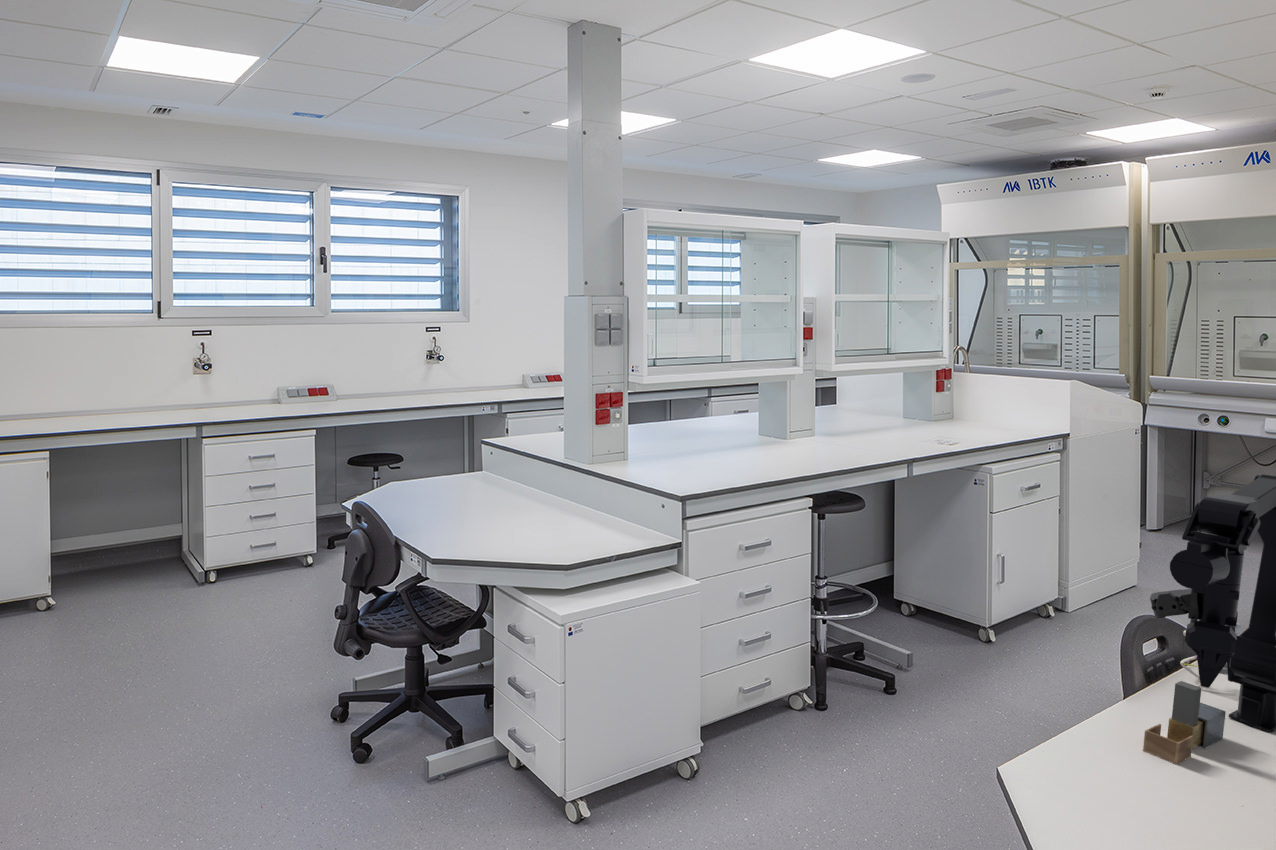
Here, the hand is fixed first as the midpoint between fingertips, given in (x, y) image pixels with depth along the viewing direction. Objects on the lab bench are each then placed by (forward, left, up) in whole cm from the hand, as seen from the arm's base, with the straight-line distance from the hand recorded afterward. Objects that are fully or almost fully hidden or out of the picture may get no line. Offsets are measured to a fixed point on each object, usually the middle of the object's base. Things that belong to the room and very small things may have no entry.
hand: (1206, 677), depth 133 cm
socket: (+3, -3, -13) cm, 14 cm away
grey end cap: (-7, -3, -13) cm, 16 cm away
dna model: (-31, -14, -13) cm, 37 cm away
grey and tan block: (-6, -3, -13) cm, 14 cm away
